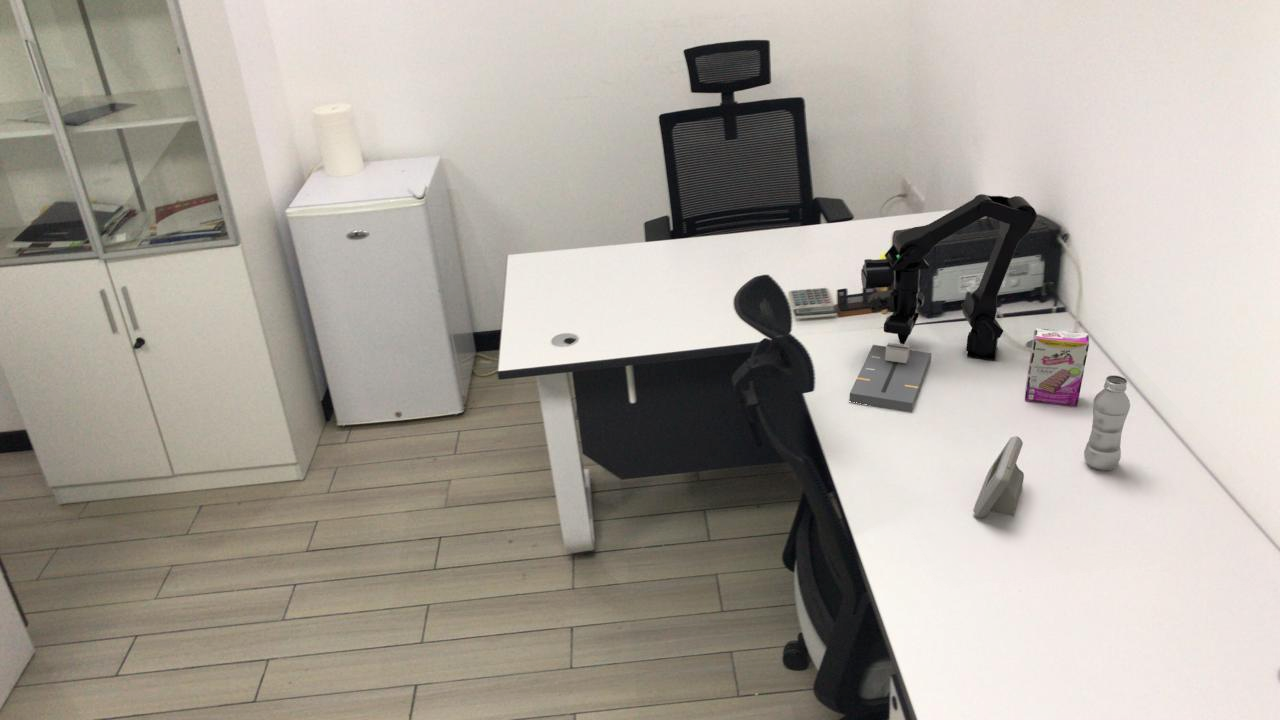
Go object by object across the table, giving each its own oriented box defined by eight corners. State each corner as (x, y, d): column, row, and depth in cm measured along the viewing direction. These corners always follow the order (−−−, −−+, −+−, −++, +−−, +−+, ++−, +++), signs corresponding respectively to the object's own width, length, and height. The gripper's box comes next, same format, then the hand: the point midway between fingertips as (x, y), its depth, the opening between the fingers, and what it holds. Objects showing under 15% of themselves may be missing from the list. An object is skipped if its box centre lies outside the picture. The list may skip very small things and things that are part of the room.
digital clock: (991, 471, 202) (997, 427, 197) (1036, 487, 197) (1043, 442, 192) (956, 512, 192) (962, 467, 187) (1002, 529, 187) (1009, 483, 181)
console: (930, 361, 242) (931, 352, 240) (911, 412, 223) (912, 402, 222) (872, 353, 247) (873, 344, 246) (849, 402, 228) (849, 392, 227)
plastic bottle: (1121, 475, 198) (1139, 389, 189) (1085, 473, 200) (1101, 387, 190) (1114, 456, 204) (1131, 372, 194) (1079, 454, 205) (1094, 370, 195)
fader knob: (908, 357, 238) (909, 345, 237) (906, 363, 236) (907, 351, 235) (887, 354, 240) (888, 342, 239) (885, 360, 238) (885, 348, 236)
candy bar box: (1024, 402, 224) (1033, 337, 216) (1024, 390, 228) (1033, 327, 220) (1078, 408, 220) (1090, 342, 212) (1077, 396, 224) (1088, 331, 216)
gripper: (880, 265, 245) (877, 322, 253) (863, 297, 231) (860, 356, 238) (926, 270, 241) (922, 327, 249) (912, 303, 226) (907, 363, 234)
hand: (902, 343), depth 242 cm, fingers closed
